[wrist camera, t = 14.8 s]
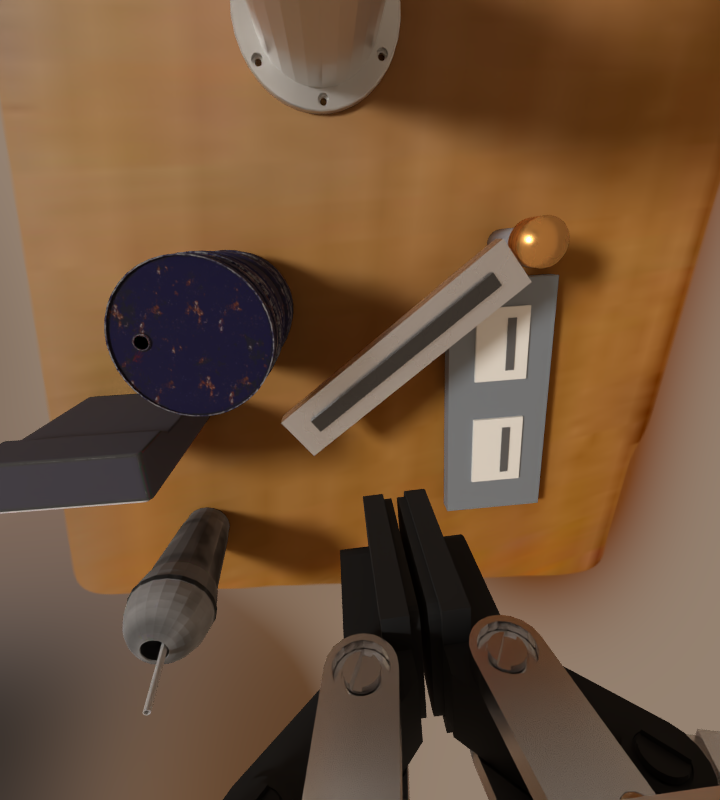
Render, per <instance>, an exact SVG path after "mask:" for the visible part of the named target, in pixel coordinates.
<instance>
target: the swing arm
mask: <svg viewBox="0 0 720 800" xmlns="http://www.w3.org/2000/svg"><path fill="white" fill-rule="evenodd" d="M568 245H569V231H568V228H567V226H566V224H565V223H564V222H563V221H562V220H561V219H560V218H558V217H556V216H552V215H544V216H537V217H531V218H527V219H524V220H522V221H521V222H519V223H518V224H517V225H516V226H515V227H514V228H513V230H512V231H511V233H510V236H509V239H508V245H507V243H506V242H505V240H504V239H495V240H493V241H492V242H491V243H490V244H489V245H487V246H486V247H485V248H484V249H483V250H481V251H480V252H479V253H478V254H477V255H475V256H474V257H473V258H472V259H471V260H469V261H468V262H467V263H466V264H465V265H463V266H462V267H461V268H460V269H459V270H457V271H456V272H455V273H454V274H453V275H451V276H450V277H449V278H448V279H447V280H445V281H444V282H443V283H442V284H441V285H439V286H438V287H437V288H436V289H435V290H433V291H432V292H431V293H430V294H429V295H427V296H426V297H425V298H424V299H423V300H421V301H420V302H419V303H418V304H417V305H415V306H414V307H413V308H412V309H411V310H409V311H408V312H407V313H406V314H405V315H403V316H402V317H401V318H400V319H399V320H397V321H396V322H395V323H394V324H393V325H391V326H390V327H389V328H388V329H387V330H385V331H384V332H383V333H382V334H381V335H379V336H378V337H377V338H376V339H375V340H373V341H372V342H371V343H370V344H369V345H367V346H366V347H365V348H364V349H363V350H361V351H360V352H359V353H358V354H357V355H355V356H354V357H353V358H352V359H351V360H349V361H348V362H347V363H346V364H345V365H343V366H342V367H341V368H340V369H339V370H337V371H336V372H335V373H334V374H333V375H331V376H330V377H329V378H328V379H327V380H325V381H324V382H323V383H322V384H321V385H319V386H318V387H317V388H316V389H315V390H313V391H312V392H311V393H310V394H309V395H307V396H306V397H305V398H304V399H303V400H301V401H300V402H299V403H298V404H297V405H295V406H294V407H293V408H292V409H291V410H289V411H288V412H287V413H286V414H285V415H283V418H282V422H281V423H282V424H283V425H284V426H285V427H286V428H287V429H288V430H289V431H290V432H291V433H292V434H293V435H294V436H295V437H296V438H297V439H298V440H299V441H300V442H301V443H302V444H303V445H304V446H305V447H306V448H307V449H308V450H309V451H310V452H311V453H312V454H313V455H314V456H315V455H316V454H317V453H318V452H320V451H321V450H322V449H323V448H325V447H326V446H327V445H328V444H330V443H331V442H332V441H333V440H335V439H336V438H337V437H338V436H340V435H341V434H342V433H343V432H345V431H346V430H347V429H348V428H350V427H351V426H352V425H353V424H355V423H356V422H357V421H358V420H360V419H361V418H362V417H363V416H365V415H366V414H367V413H368V412H370V411H371V410H372V409H373V408H375V407H376V406H377V405H378V404H380V403H381V402H382V401H383V400H385V399H386V398H387V397H388V396H390V395H391V394H392V393H393V392H395V391H396V390H397V389H398V388H400V387H401V386H402V385H404V384H405V383H406V382H407V381H409V380H410V379H411V378H412V377H414V376H415V375H416V374H417V373H419V372H420V371H421V370H422V369H424V368H425V367H426V366H427V365H429V364H430V363H431V362H432V361H434V360H435V359H436V358H437V357H439V356H440V355H441V354H442V353H444V352H445V351H446V350H447V349H449V348H450V347H451V346H452V345H454V344H455V343H456V342H457V341H459V340H460V339H461V338H462V337H464V336H465V335H466V334H467V333H469V332H470V331H471V330H472V329H474V328H475V327H476V326H477V325H479V324H480V323H481V322H482V321H484V320H485V319H486V318H487V317H489V316H490V315H491V314H492V313H494V312H495V311H496V310H497V309H499V308H500V307H501V306H502V305H504V304H505V303H506V302H507V301H509V300H510V299H511V298H512V297H514V296H515V295H516V294H517V293H519V292H520V291H521V290H522V289H524V288H525V287H526V286H527V285H529V284H530V283H531V280H530V279H529V277H528V276H527V274H526V272H525V271H524V269H523V268H522V266H523V267H531V268H547V267H550V266H553V265H554V264H556V263H557V262H558V261H559V260H560V259H561V258H562V257H563V256H564V254H565V252H566V250H567V248H568Z"/></svg>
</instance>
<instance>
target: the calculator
mask: <svg viewBox="0 0 720 800" xmlns="http://www.w3.org/2000/svg"><path fill="white" fill-rule="evenodd" d="M208 419H209V416H187V415H180V414H176V413H173V412H170V411H166V410H164V409H162V408H160V407H158V406H155V405H154V404H152V403H150V402H149V401H147V400H146V399H144V398H143V397H141V396H140V395H139V394H127V395H112V396H97V397H90V398H88V399H86V400H84V401H83V402H81V403H80V404H78V405H76V406H75V407H73V408H72V409H70V410H68V411H67V412H65V413H64V414H62V415H60V416H59V417H57V418H56V419H54V420H52V421H51V422H49V423H48V424H46V425H45V426H43V427H41V428H40V429H38V430H37V431H35V432H34V433H32V434H30V435H29V436H27V437H25V438H24V439H23V440H20V441H19V440H18V441H6V442H3V443H1V444H0V513H15V512H28V511H40V510H52V509H65V508H78V507H90V506H103V505H116V504H128V503H141V502H147V501H149V500H150V499H152V498H153V497H154V496H155V495H156V493H157V492H158V491H159V489H160V488H161V486H162V485H163V483H164V482H165V480H166V479H167V478H168V476H169V475H170V473H171V472H172V471H173V469H174V468H175V466H176V465H177V463H178V462H179V461H180V459H181V458H182V456H183V455H184V453H185V452H186V451H187V449H188V448H189V446H190V445H191V443H192V442H193V440H194V439H195V438H196V436H197V435H198V433H199V432H200V430H201V429H202V427H203V426H204V424H205V423H206V422H207V420H208Z"/></svg>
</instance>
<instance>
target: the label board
mask: <svg viewBox="0 0 720 800" xmlns="http://www.w3.org/2000/svg"><path fill="white" fill-rule="evenodd" d="M512 230H513V228H507V229H499V230H496V231H494V232H493V233H492V234H491V235H490V236H489V238H488V241H487V245H489V244H490V243H491V242H492V241H493V240H495V239H504V240H505V242H506V243H507V245H508V239H509V236H510V233H511V231H512ZM528 277H529V279H530V280H531V283H530V284H529V285H527V286H526V287H525V288H524V289H522V290H521V291H520V292H519V293H517V294H516V295H515V296H514V297H512V298H511V299H510V300H509V301H507V302H506V303H505V304H504V305H502V306H501V307H500V308H499V309H497V310H496V311H495V312H494V313H492V314H491V315H490V316H489V317H487V318H486V319H485V320H484V321H482V322H481V323H480V324H479V325H477V326H476V327H475V328H474V329H472V330H471V331H470V332H469V333H467V334H466V335H465V336H464V337H462V338H461V339H460V340H459V341H457V342H456V343H455V344H454V345H452V346H451V347H450V348H449V349H447V350H446V351H445V429H444V504H445V507H446V509H447V511H453V510H464V509H474V508H485V507H495V506H506V505H516V504H527V503H538V493H539V482H540V472H541V461H542V450H543V440H544V429H545V418H546V408H547V397H548V386H549V376H550V365H551V354H552V344H553V333H554V323H555V312H556V301H557V291H558V280H559V275H555V274H543V275H529V276H528Z"/></svg>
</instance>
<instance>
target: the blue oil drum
mask: <svg viewBox="0 0 720 800" xmlns="http://www.w3.org/2000/svg"><path fill="white" fill-rule="evenodd" d="M292 318H293V300H292V295H291V292H290V289H289V287H288V285H287V283H286V281H285V279H284V278H283V276H282V275H281V273H280V272H279V271H278V270H277V269H276V268H275V267H274V266H273V265H271V264H270V263H269V262H268V261H266V260H264V259H263V258H261V257H259V256H256V255H254V254H251V253H247V252H241V251H236V250H220V251H188V252H180V253H175V254H167V255H161V256H158V257H154V258H151V259H148V260H146V261H144V262H142V263H140V264H138V265H137V266H135V267H134V268H133V269H131V270H130V271H129V272H127V273H126V274H125V276H124V277H123V278H122V279H121V280H120V281H119V282H118V284H117V285H116V287H115V289H114V290H113V292H112V294H111V296H110V299H109V301H108V304H107V308H106V313H105V324H104V332H105V338H106V344H107V347H108V351H109V354H110V357H111V359H112V361H113V363H114V365H115V367H116V369H117V370H118V372H119V373H120V375H121V376H122V377H123V379H124V380H125V381H126V382H127V384H128V385H129V386H130V387H131V388H132V389H133V390H134V391H135V392H137V393H138V394H139V395H140V396H141V397H143V398H144V399H146V400H147V401H149V402H150V403H152V404H154V405H155V406H158V407H160V408H162V409H164V410H166V411H170V412H173V413H176V414H180V415H187V416H211V415H217V414H221V413H224V412H228V411H230V410H232V409H234V408H236V407H238V406H240V405H241V404H243V403H244V402H246V401H247V400H249V399H250V398H251V397H252V396H253V395H254V394H255V393H256V392H257V391H258V389H259V388H260V387H261V385H262V384H263V383H264V381H265V379H266V377H267V376H268V374H269V373H270V372H271V370H272V368H273V366H274V364H275V362H276V360H277V358H278V356H279V354H280V351H281V348H282V346H283V344H284V342H285V341H286V339H287V336H288V334H289V331H290V328H291V323H292Z"/></svg>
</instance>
